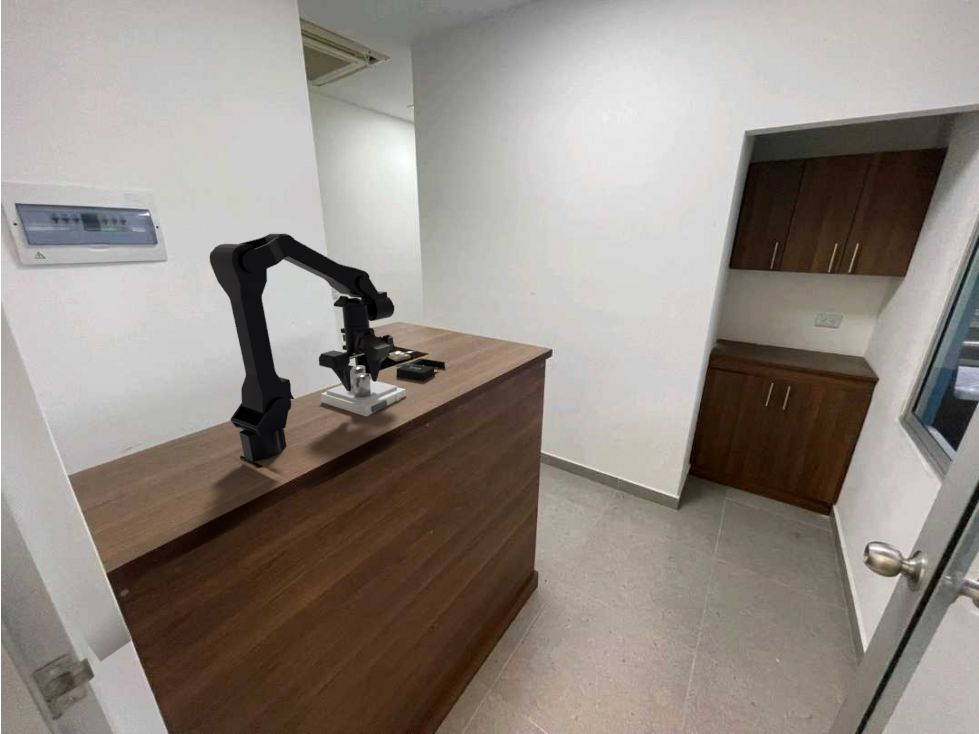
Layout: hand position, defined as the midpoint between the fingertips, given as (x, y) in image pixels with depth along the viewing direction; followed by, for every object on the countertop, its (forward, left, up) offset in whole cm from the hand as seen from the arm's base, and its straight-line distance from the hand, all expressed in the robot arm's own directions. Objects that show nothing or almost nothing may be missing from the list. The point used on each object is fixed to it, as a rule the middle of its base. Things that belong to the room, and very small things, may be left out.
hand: (362, 386), depth 95 cm
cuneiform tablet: (+32, +13, -3) cm, 35 cm away
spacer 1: (+4, +6, -2) cm, 7 cm away
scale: (+3, +3, -6) cm, 7 cm away
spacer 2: (0, 0, -2) cm, 2 cm away
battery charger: (+26, +3, -6) cm, 27 cm away
